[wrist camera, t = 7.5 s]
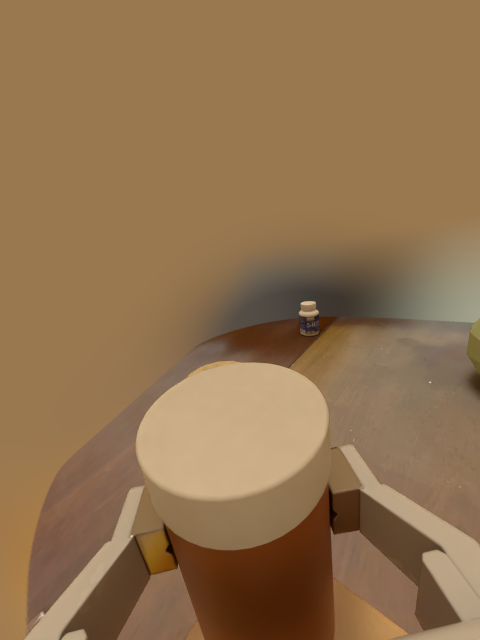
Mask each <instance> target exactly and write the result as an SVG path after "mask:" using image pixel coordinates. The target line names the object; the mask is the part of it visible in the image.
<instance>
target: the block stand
mask: <svg viewBox="0 0 480 640" xmlns="http://www.w3.org/2000/svg"><path fill="white" fill-rule="evenodd" d="M333 593H334V614H335V632H334V640H388V639H392V638H396V637H400V636H404V635H408V633H406V632H405V631H404V630H402V629H401V628H400V627H398V626H397V625H396V624H394V623H393V622H392V621H390V620H389V619H388V618H386V617H385V616H384V615H382V614H381V613H380V612H378V611H377V610H376V609H374V608H373V607H372V606H371V605H369V604H368V603H367V602H365V601H364V600H363V599H361V598H360V597H359V596H357V595H356V594H355V593H353V592H352V591H351V590H349V589H348V588H347V587H345V586H344V585H343V584H341V583H340V582H339V581H337V580H336V579H335V578H333ZM185 640H205V639H204V636H203V633H202V630H201V627H200V624H199V622H198V619H197V621H196V622H195V624H194V626H193V627H192V629H191V630H190V632H189V634H188V635H187V637H186V638H185Z"/></svg>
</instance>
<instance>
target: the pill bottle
mask: <svg viewBox="0 0 480 640" xmlns="http://www.w3.org/2000/svg"><path fill="white" fill-rule="evenodd" d="M315 308H316V302H314V301H306V302H302V303H301V309H302V310H301V311H300V313H299V321H300V333H301V334H302V335H305V336H314V335H317V334H318V333H319V313H318V310H316V309H315Z"/></svg>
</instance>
